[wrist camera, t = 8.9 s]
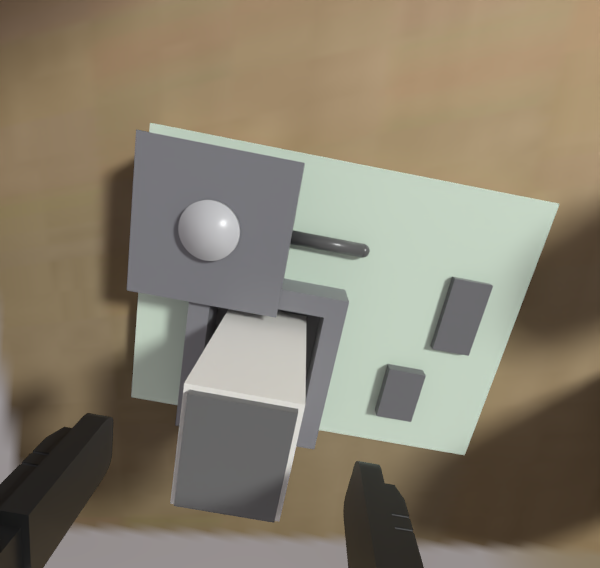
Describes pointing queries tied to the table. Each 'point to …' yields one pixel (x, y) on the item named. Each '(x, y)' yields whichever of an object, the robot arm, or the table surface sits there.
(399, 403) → the board
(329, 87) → the table surface
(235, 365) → the plug
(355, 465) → the robot arm
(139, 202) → the grey button block
